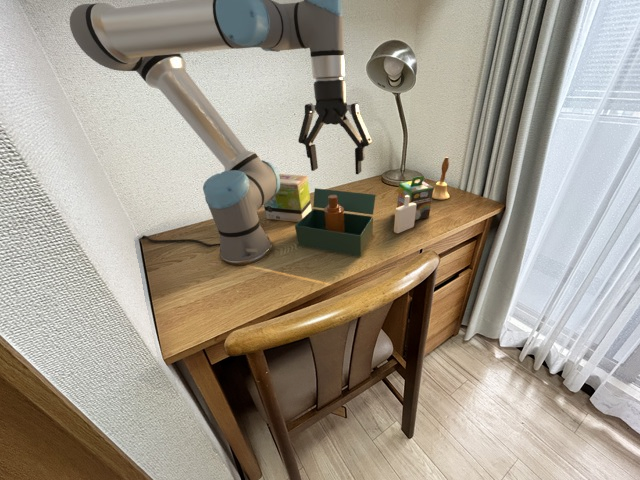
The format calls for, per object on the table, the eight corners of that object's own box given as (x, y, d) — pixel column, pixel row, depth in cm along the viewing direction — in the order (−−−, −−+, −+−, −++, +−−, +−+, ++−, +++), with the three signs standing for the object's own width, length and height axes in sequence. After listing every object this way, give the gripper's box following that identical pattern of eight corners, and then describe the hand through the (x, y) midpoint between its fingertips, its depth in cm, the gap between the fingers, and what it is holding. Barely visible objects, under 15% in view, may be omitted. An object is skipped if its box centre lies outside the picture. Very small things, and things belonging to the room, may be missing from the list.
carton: (298, 245, 84) (294, 225, 79) (315, 227, 93) (313, 208, 89) (360, 257, 77) (360, 236, 73) (372, 236, 87) (373, 216, 83)
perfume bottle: (410, 224, 92) (414, 192, 85) (414, 226, 91) (418, 194, 84) (393, 231, 89) (395, 198, 82) (397, 234, 88) (400, 200, 80)
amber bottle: (323, 243, 84) (319, 199, 75) (331, 234, 88) (327, 191, 79) (341, 246, 82) (338, 201, 73) (347, 237, 86) (346, 193, 78)
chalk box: (416, 207, 103) (421, 169, 95) (430, 217, 96) (436, 177, 88) (395, 212, 101) (398, 173, 92) (408, 222, 94) (412, 181, 85)
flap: (314, 188, 87) (315, 188, 87) (313, 206, 88) (313, 207, 89) (375, 194, 81) (375, 194, 81) (372, 214, 82) (373, 214, 82)
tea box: (266, 220, 99) (256, 181, 90) (278, 208, 107) (270, 172, 98) (303, 223, 96) (297, 184, 87) (312, 211, 104) (307, 174, 95)
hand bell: (445, 191, 116) (452, 154, 106) (452, 199, 109) (460, 159, 99) (426, 192, 115) (432, 155, 106) (433, 200, 108) (439, 160, 99)
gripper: (384, 76, 60) (382, 170, 73) (291, 80, 68) (303, 164, 81) (375, 78, 55) (374, 178, 67) (275, 82, 62) (291, 172, 75)
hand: (336, 171), depth 74 cm, fingers open, 13 cm apart
